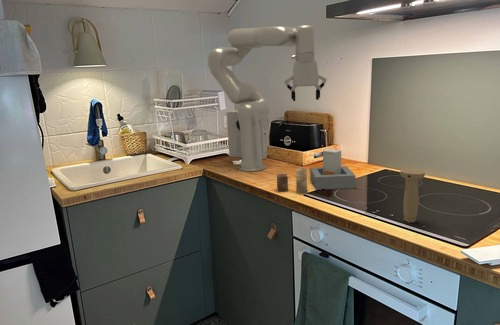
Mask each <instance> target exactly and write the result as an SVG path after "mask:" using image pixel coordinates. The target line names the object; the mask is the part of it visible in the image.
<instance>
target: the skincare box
mask: <svg viewBox="0 0 500 325" xmlns="http://www.w3.org/2000/svg"><path fill="white" fill-rule="evenodd" d="M341 166H342V150H340V149H335V148H333V149H331V148H327V149H324V150H323V151H322V167H323V175H337V174H341Z"/></svg>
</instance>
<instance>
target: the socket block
mask: <svg viewBox="0 0 500 325" xmlns="http://www.w3.org/2000/svg"><path fill="white" fill-rule="evenodd" d="M309 174H310V175H309V180H310V181H311V183H312V185H313V187H314V190H315V191H318V190H319V191H321V190H322V189H325V190H340V189H341V190H342V189H343V190H345V189H355V188H356V175H355V173H354V172H353V171H352V170H351V169H350V168H349V167H348V166H347V165H341V174H337V175H323V166H318V167H317V166H314V167H313V166H312V167H309Z"/></svg>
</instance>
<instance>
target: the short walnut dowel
mask: <svg viewBox="0 0 500 325" xmlns="http://www.w3.org/2000/svg"><path fill="white" fill-rule="evenodd" d="M288 179H289V177H288V173H277V174H276V191H277V193H288V192H289V180H288ZM286 191H287V192H286Z"/></svg>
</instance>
